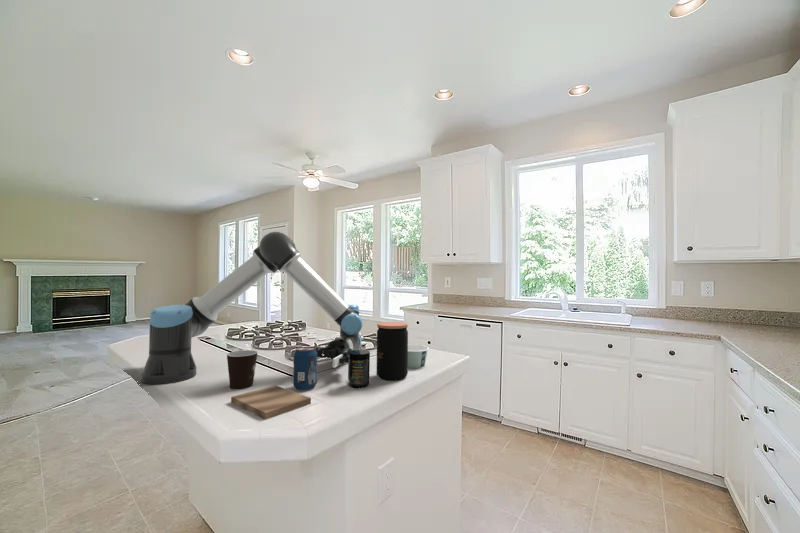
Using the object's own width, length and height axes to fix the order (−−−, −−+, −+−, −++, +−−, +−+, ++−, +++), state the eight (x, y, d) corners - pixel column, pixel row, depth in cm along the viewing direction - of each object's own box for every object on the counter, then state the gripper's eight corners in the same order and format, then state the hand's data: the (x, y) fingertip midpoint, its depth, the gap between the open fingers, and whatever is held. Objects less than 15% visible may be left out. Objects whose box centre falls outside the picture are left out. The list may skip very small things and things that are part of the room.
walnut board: (231, 402, 91) (231, 396, 91) (275, 390, 101) (275, 385, 101) (265, 419, 80) (265, 413, 80) (310, 403, 90) (310, 397, 90)
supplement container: (372, 387, 104) (372, 353, 104) (350, 390, 102) (350, 355, 102) (366, 381, 110) (366, 349, 111) (345, 383, 108) (346, 350, 108)
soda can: (298, 383, 107) (299, 345, 108) (319, 384, 106) (320, 346, 107) (289, 391, 100) (290, 350, 101) (311, 392, 100) (312, 351, 100)
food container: (391, 364, 133) (391, 347, 133) (413, 359, 141) (413, 343, 141) (413, 370, 124) (413, 352, 124) (435, 365, 132) (435, 348, 132)
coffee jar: (379, 371, 122) (380, 321, 122) (409, 373, 120) (409, 322, 121) (373, 380, 111) (374, 325, 112) (405, 382, 110) (406, 326, 110)
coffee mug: (244, 391, 99) (245, 357, 100) (219, 389, 101) (220, 355, 101) (268, 380, 111) (268, 349, 111) (244, 378, 112) (245, 347, 113)
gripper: (371, 360, 125) (350, 376, 105) (309, 356, 131) (278, 371, 110) (371, 340, 126) (351, 352, 105) (309, 336, 131) (278, 347, 110)
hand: (313, 361), depth 108 cm, fingers open, 13 cm apart
